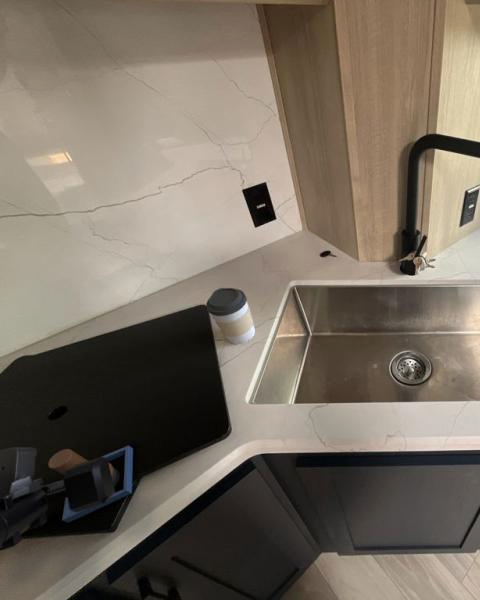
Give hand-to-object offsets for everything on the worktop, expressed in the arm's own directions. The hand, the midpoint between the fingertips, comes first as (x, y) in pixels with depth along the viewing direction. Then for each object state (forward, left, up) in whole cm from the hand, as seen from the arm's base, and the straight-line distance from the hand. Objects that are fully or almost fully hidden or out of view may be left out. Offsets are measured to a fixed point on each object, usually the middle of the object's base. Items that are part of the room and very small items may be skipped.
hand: (70, 477), depth 53 cm
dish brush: (0, +2, -9) cm, 9 cm away
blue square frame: (0, +2, -9) cm, 9 cm away
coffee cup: (+29, +28, -9) cm, 42 cm away
